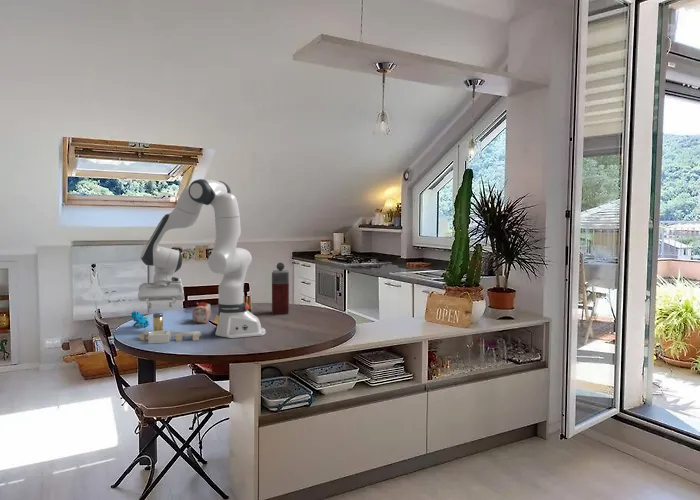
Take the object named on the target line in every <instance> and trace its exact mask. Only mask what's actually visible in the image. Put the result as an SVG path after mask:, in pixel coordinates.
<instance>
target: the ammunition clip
mask: <svg viewBox="0 0 700 500" xmlns="http://www.w3.org/2000/svg"><path fill="white" fill-rule="evenodd" d="M245 297H246V298H245ZM243 302H244V303H247V304H248V305H249V308H248V311H249V312H251V313H252V314H253V304H252V302H253V301H252V296H251V295H250V296H249V297H248V295H246V296H245V295H243Z"/></svg>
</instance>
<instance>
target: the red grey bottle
mask: <svg viewBox="0 0 700 500" xmlns="http://www.w3.org/2000/svg"><path fill="white" fill-rule="evenodd" d="M285 314H290V270H288V269H285V264H284V262H281V261H280V262H278V263H277V264H276V269H274V270H272V272H271V315H275V316H276V315H278V316H279V315H281V316H282V315H285Z"/></svg>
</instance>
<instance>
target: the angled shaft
mask: <svg viewBox="0 0 700 500" xmlns="http://www.w3.org/2000/svg"><path fill="white" fill-rule="evenodd" d="M150 332H151V331H145V330H142V331H141V332H140V334H139V341H148V335H149V334H150Z"/></svg>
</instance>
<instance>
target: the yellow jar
mask: <svg viewBox="0 0 700 500" xmlns="http://www.w3.org/2000/svg"><path fill="white" fill-rule="evenodd" d="M152 315H153V316H152V317H153V318H152V319H153V320H152V322H153V325H152V327H153V328H152V329H153V330H152V331H164V321H163V320H164V314H163V312H155V313H153V314H152Z"/></svg>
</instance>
